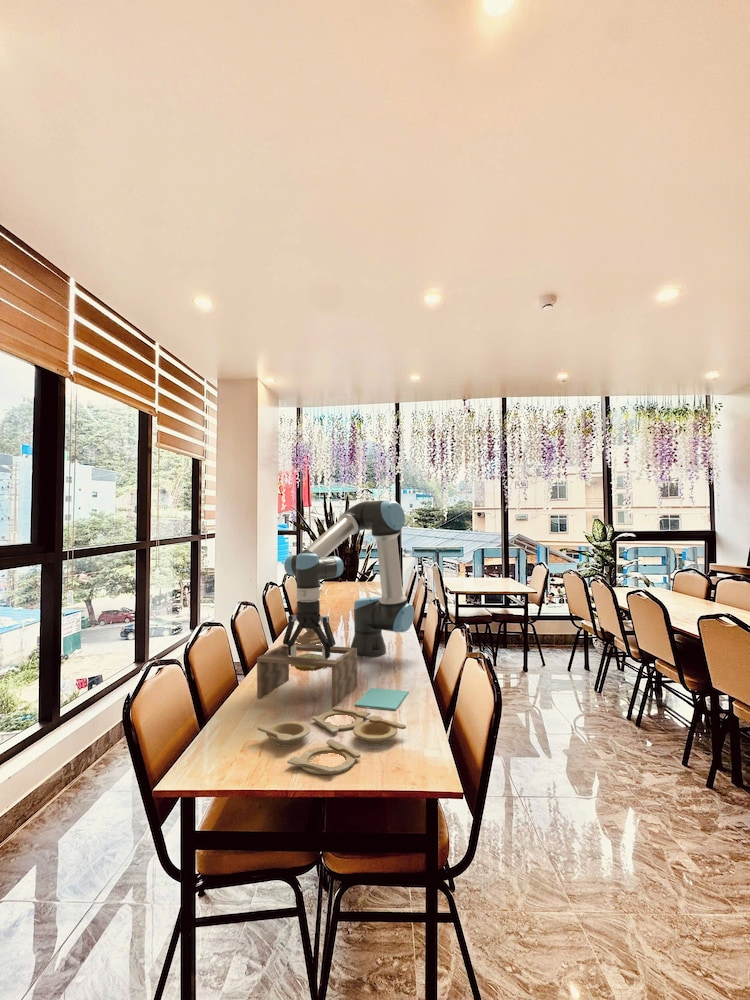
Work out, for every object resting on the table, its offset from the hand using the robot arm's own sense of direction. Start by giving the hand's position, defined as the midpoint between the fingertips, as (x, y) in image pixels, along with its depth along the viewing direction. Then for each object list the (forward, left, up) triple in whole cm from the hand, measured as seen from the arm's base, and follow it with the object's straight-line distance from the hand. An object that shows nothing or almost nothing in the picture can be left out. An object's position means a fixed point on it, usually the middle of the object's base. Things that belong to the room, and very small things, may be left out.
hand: (309, 666), depth 173 cm
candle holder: (-62, -27, -9) cm, 68 cm away
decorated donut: (0, 0, -1) cm, 1 cm away
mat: (0, +25, -8) cm, 27 cm away
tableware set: (+32, +21, -9) cm, 40 cm away
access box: (0, 0, -8) cm, 8 cm away
